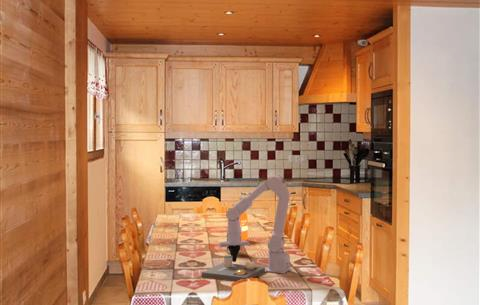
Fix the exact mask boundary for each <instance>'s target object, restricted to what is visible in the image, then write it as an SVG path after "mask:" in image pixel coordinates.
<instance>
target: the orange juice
mask: <svg viewBox="0 0 480 305" xmlns="http://www.w3.org/2000/svg"><path fill="white" fill-rule="evenodd" d="M240 226H241V227H242V241H249V240H248V239H249V238H248V236H249V234H248V233H249V232H248V229H249V228H248V215H247V213H246V211H245V212H244V213H243V214H241V216H240Z"/></svg>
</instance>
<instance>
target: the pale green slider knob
mask: <svg viewBox="0 0 480 305" xmlns="http://www.w3.org/2000/svg"><path fill="white" fill-rule="evenodd" d="M223 260H224V261H223V263H224V266H226V267H232V264H233V261H232V256H231V255H224V256H223Z"/></svg>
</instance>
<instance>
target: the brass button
mask: <svg viewBox="0 0 480 305" xmlns="http://www.w3.org/2000/svg"><path fill="white" fill-rule="evenodd" d="M236 275H242V276H244V275H245V270H236Z"/></svg>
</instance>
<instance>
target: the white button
mask: <svg viewBox="0 0 480 305" xmlns="http://www.w3.org/2000/svg"><path fill="white" fill-rule="evenodd" d="M245 265H246V269H247V270H255V266H256V262H254V261H247V262H246V263H245Z"/></svg>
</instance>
